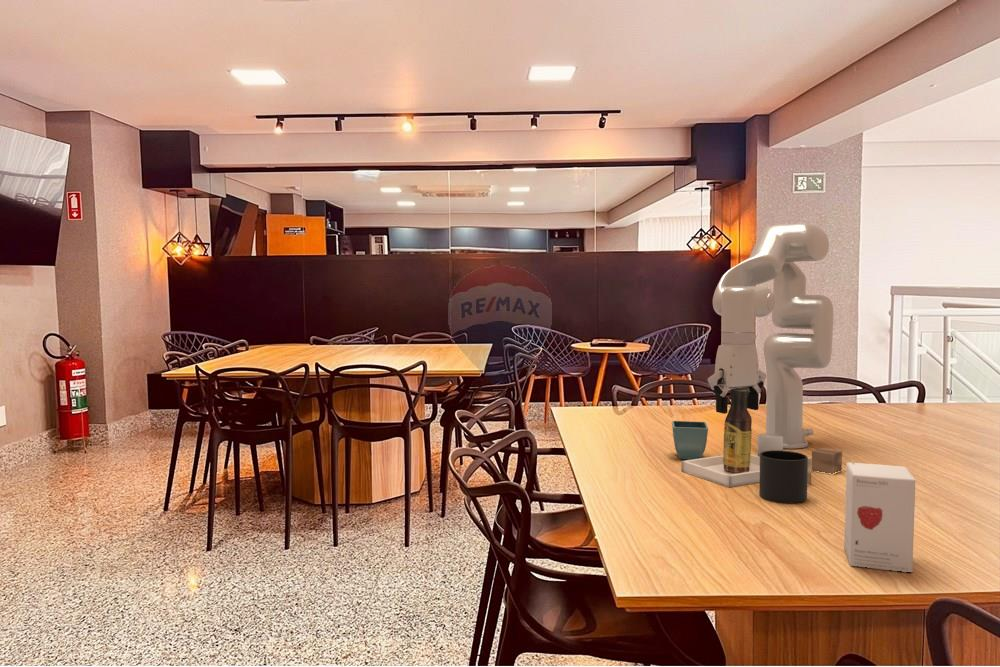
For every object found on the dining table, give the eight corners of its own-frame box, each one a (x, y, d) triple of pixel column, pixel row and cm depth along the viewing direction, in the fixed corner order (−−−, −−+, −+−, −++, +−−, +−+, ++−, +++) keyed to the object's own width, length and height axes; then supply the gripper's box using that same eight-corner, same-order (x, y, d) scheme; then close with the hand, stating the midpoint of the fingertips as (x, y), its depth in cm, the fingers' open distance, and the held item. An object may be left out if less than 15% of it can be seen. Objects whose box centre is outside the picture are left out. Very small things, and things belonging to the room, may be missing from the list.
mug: (810, 491, 153) (811, 450, 153) (804, 506, 143) (805, 462, 142) (764, 485, 158) (765, 446, 157) (755, 500, 147) (756, 457, 147)
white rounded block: (769, 459, 182) (769, 432, 182) (787, 464, 177) (788, 437, 177) (752, 462, 180) (752, 435, 179) (770, 467, 174) (770, 439, 174)
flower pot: (708, 462, 180) (708, 427, 179) (672, 461, 182) (673, 426, 181) (705, 454, 188) (705, 421, 188) (671, 453, 190) (671, 420, 190)
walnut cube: (820, 467, 174) (821, 447, 173) (841, 471, 170) (842, 451, 170) (811, 471, 170) (811, 451, 170) (832, 475, 167) (832, 454, 166)
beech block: (802, 479, 163) (802, 454, 162) (811, 484, 159) (811, 458, 158) (785, 480, 162) (785, 454, 162) (794, 485, 158) (794, 458, 158)
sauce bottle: (718, 468, 171) (720, 387, 170) (743, 467, 172) (745, 386, 171) (729, 475, 165) (731, 391, 164) (755, 474, 165) (757, 390, 164)
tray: (743, 461, 180) (743, 452, 180) (793, 476, 165) (793, 466, 165) (681, 471, 171) (681, 461, 171) (728, 487, 157) (728, 476, 157)
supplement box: (849, 566, 112) (850, 474, 111) (843, 547, 120) (845, 461, 119) (914, 574, 108) (916, 479, 108) (903, 554, 117) (906, 465, 116)
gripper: (753, 337, 174) (752, 405, 175) (698, 340, 166) (698, 411, 167) (777, 338, 167) (776, 410, 168) (721, 342, 159) (720, 416, 160)
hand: (737, 411), depth 168 cm, fingers open, 9 cm apart
